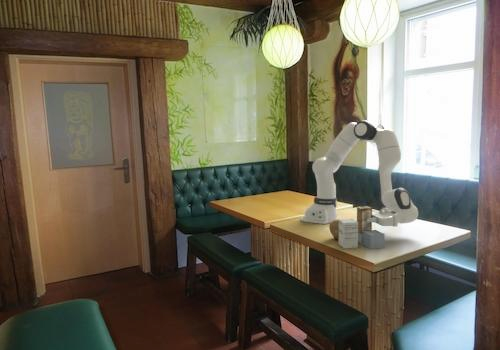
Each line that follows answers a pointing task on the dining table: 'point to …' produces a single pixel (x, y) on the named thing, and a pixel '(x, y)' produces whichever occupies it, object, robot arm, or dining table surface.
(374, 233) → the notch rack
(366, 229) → the frame block
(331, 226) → the natural sponge
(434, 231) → the dining table surface
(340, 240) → the supplement box
